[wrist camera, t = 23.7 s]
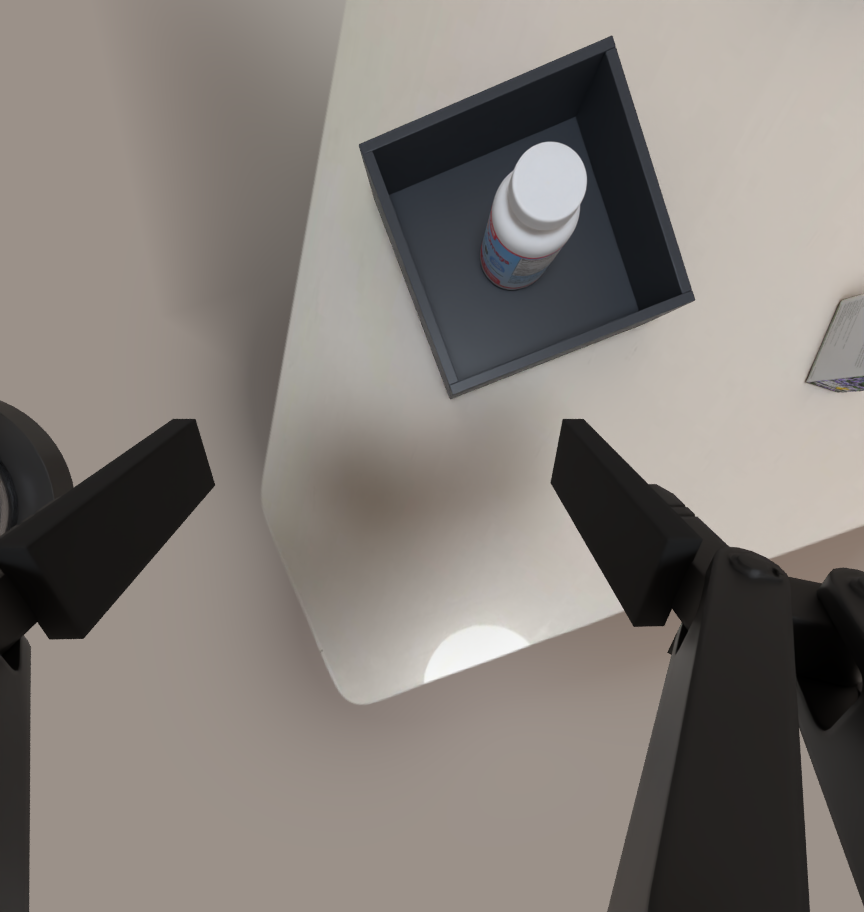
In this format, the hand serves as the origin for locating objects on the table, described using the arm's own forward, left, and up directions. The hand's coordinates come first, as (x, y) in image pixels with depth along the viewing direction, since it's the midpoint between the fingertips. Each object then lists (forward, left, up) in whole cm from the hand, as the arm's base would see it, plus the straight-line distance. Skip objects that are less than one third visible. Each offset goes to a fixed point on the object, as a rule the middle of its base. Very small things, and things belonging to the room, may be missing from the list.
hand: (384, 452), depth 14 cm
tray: (-13, +13, -23) cm, 29 cm away
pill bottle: (-13, +13, -22) cm, 29 cm away
